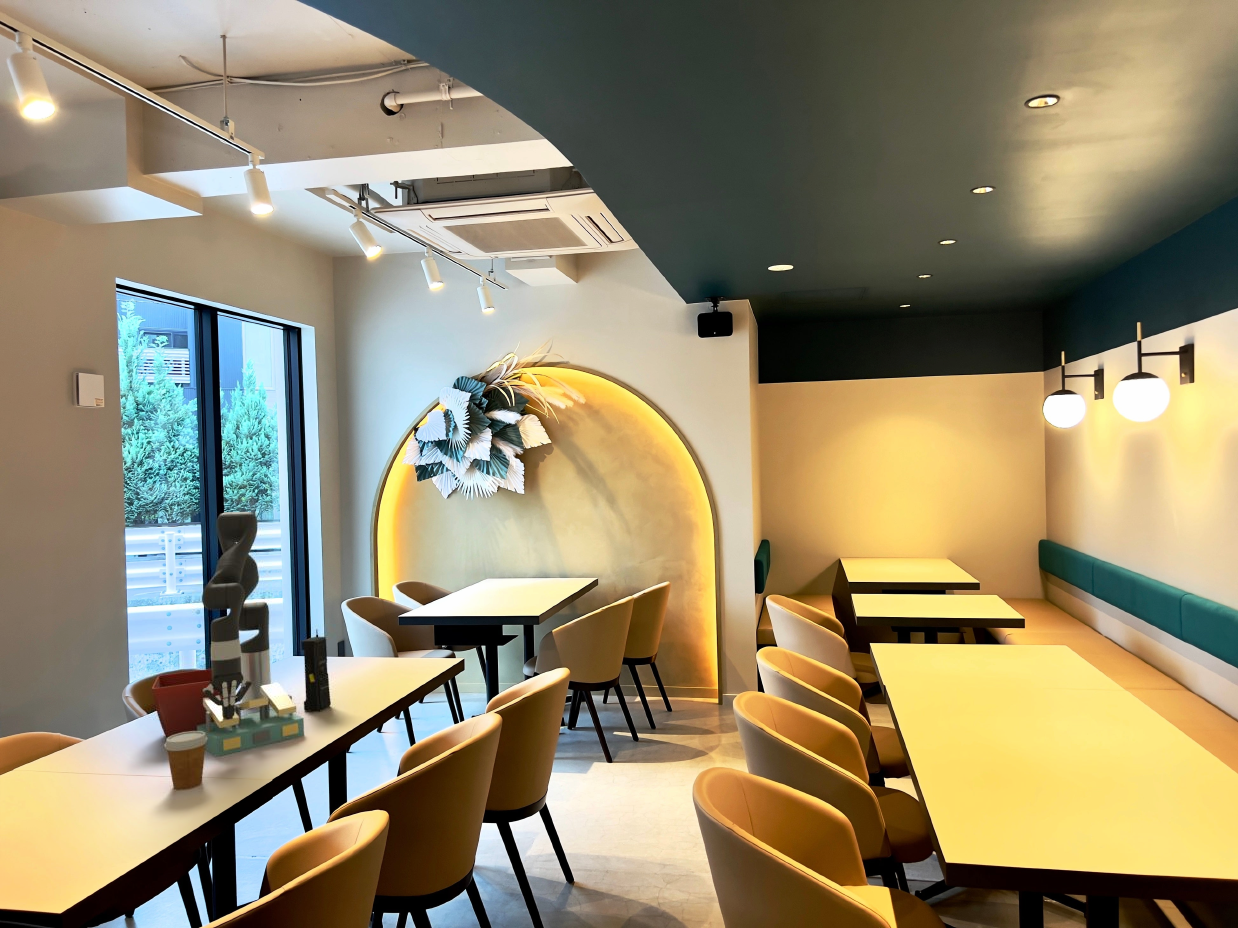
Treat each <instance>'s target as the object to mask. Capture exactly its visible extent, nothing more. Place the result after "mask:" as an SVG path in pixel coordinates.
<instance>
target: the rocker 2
mask: <svg viewBox="0 0 1238 928" xmlns="http://www.w3.org/2000/svg"><path fill="white" fill-rule="evenodd" d="M267 704H268V699H267V697H265V698H260V699H256V700H251V701H247V702H243V703H242V702H238V703H235V705H234V707H235V710H236V706H237V705H238V706H240V707H241V712H242V711H245V710H246V711H247V710H250V709H254V708H258V707H259V706H263V705H267Z"/></svg>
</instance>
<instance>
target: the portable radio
mask: <svg viewBox="0 0 1238 928" xmlns="http://www.w3.org/2000/svg"><path fill="white" fill-rule="evenodd" d="M315 631H316V632H315V633H316V635H315V636H313V637H309V638H307V639H303V640H302V641H301V642H300V644H301V646H300V647H301V650H302V651H303V654H304V657H303V658H304V678H305V679H304V682H305V686H304V687H305V700H304V701H303V710H304V712H313V713H314V712H319V713H320V712H321V711H323V710H325V709H326V708H329V707H330V706H331V705H332V704H331V694H330V693H331V692H330V682H329V681H330V679H329V673H328V655H327V653H328V652H327V638H326V636H319V634H318V629H315Z"/></svg>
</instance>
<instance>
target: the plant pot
mask: <svg viewBox="0 0 1238 928" xmlns="http://www.w3.org/2000/svg"><path fill="white" fill-rule="evenodd" d="M211 678H212V671H211V668H207V669H205V668H204V669H197V670H190V671H183V672H175V673H167V674H161V675H157V678H156V679H155V681H154V683H153V685H152V687H151V692H152V698H153V702H154V707H155V709H156V713H157V716H158V721H159V723H160V726H161V728H162V731H163V734H164V736H165V738H166V739H167V738H168V737H170V736H172V735H175V734H178V733H183V732H189V731H197V726H198V725H202V724H206V712H208V711H207V710H206V708H205V707H204V706H203V698H208V697H207V696H206V695H205V694H204V693H203V692H202V690H203V689H204V688H207V687H208V686H209V685H210V681H211ZM213 691H214V692H213V693H212V694H213V695H214V696H218V695H219V693H218V692H217V691H216V690H215V689H214V688H213ZM212 722H215V721H214V719H213V718H212V717H211V723H212Z"/></svg>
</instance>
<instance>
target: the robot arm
mask: <svg viewBox="0 0 1238 928" xmlns="http://www.w3.org/2000/svg"><path fill="white" fill-rule="evenodd" d="M216 533H217V536H218V540H219V541H218V542H219V544H220V547H221V550H222V553H223V554H222V555H221V556H220V558H219V560H218V561H217V565H216V568H215V573H214V575H212V577H211V579H210V580H209V581H208V583H207V584H206V586H205V587H204V589H203V591H202V595H201V603H202V605H203V607H205V609H207V610H209V611H220V610H221V611H222V610H229V612H228V615H226V616H222V617H219V618H216V619H213V620H212V621H211V622H210V623H211V624H210V637H211V638H210V641H211V642H210V643H211V644H210V663H211V665H210V666H211V667H210V669H211V671H212V678H211V681H210V685H209V686H208V687H207V688H204V689H203V690H202V692H203V693H204V694H205V695H206V696H207V697H208V698H209V699H210V700H211V701H212V702H213V703H214V704H216V705H218V706H222V716H223V718H226V719H227V720H229V719H232V718H233V716H234V715H235V710H234V705H236V704H238V703H243V702H247V701H251V700H256V699H260V698H264V696H263V695H262V694H261V693H260V687H261V686H263V685H268V684H272V679H271V677H272V676H271V674H272V673H271V658H270V657H271V656H270V655H271V654H270V653H271V652H270V650H271V649H270V629H269V627H270V610H269V609H270V608H269V604H268V603H267V602H265V601H257V602H246V600H247V599H248V598H249V596H250V595H251V594H253V592H254V590H255V589H256V587H257V586H258V583H259V581H260V574H259V570H258V564H257V562H256V560H255V559H254V558H253V557H252V555H251V554H250V552H251V550H252V548H253V545H254V542H255V540H256V538H257V533H258V519H257V515H256V514H255V513H253V512H250V511H233V512H232V511H231V512H229V511H228V512H223V513H220V514H219V515H218V517H217V519H216ZM248 631H250V632H251V631H258V633H256V634H255V636H253V637H251V638H248V639H246V640H244V641H242V642H240V632H248ZM239 687H240V688H239ZM213 688H214V689H215V690H216V691H217V692H218V693H219V696H220V700H219V699H218V698H217V697H216V696H214V695H213V694H212V693H213V692H214V691H213ZM238 689H239V690H238ZM237 690H238V691H237ZM236 692H237V693H236Z"/></svg>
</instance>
